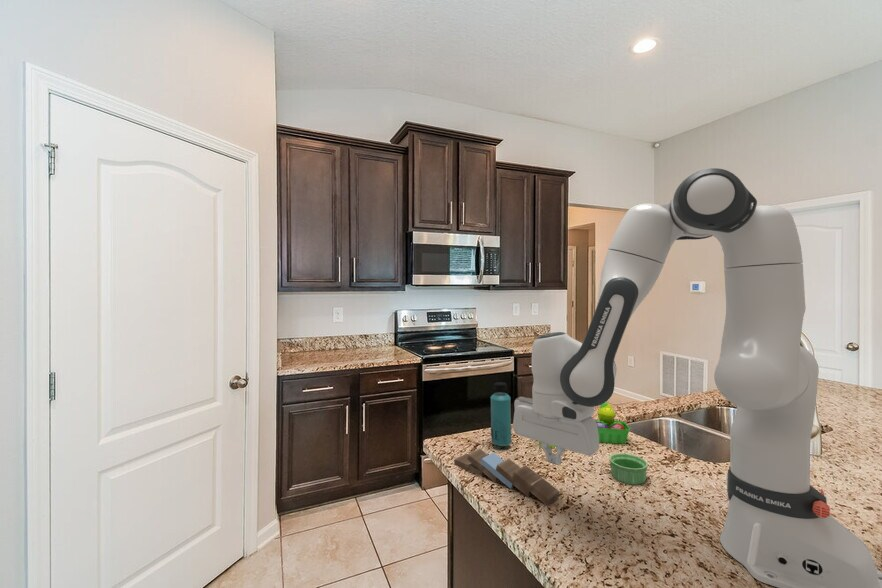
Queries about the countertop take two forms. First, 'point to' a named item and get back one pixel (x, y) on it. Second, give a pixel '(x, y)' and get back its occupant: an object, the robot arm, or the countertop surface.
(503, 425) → the beverage bottle
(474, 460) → the domino
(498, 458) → the domino
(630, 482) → the ramekin
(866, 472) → the countertop surface
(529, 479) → the domino
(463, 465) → the domino
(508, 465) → the domino
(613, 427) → the fruit basket
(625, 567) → the countertop surface
